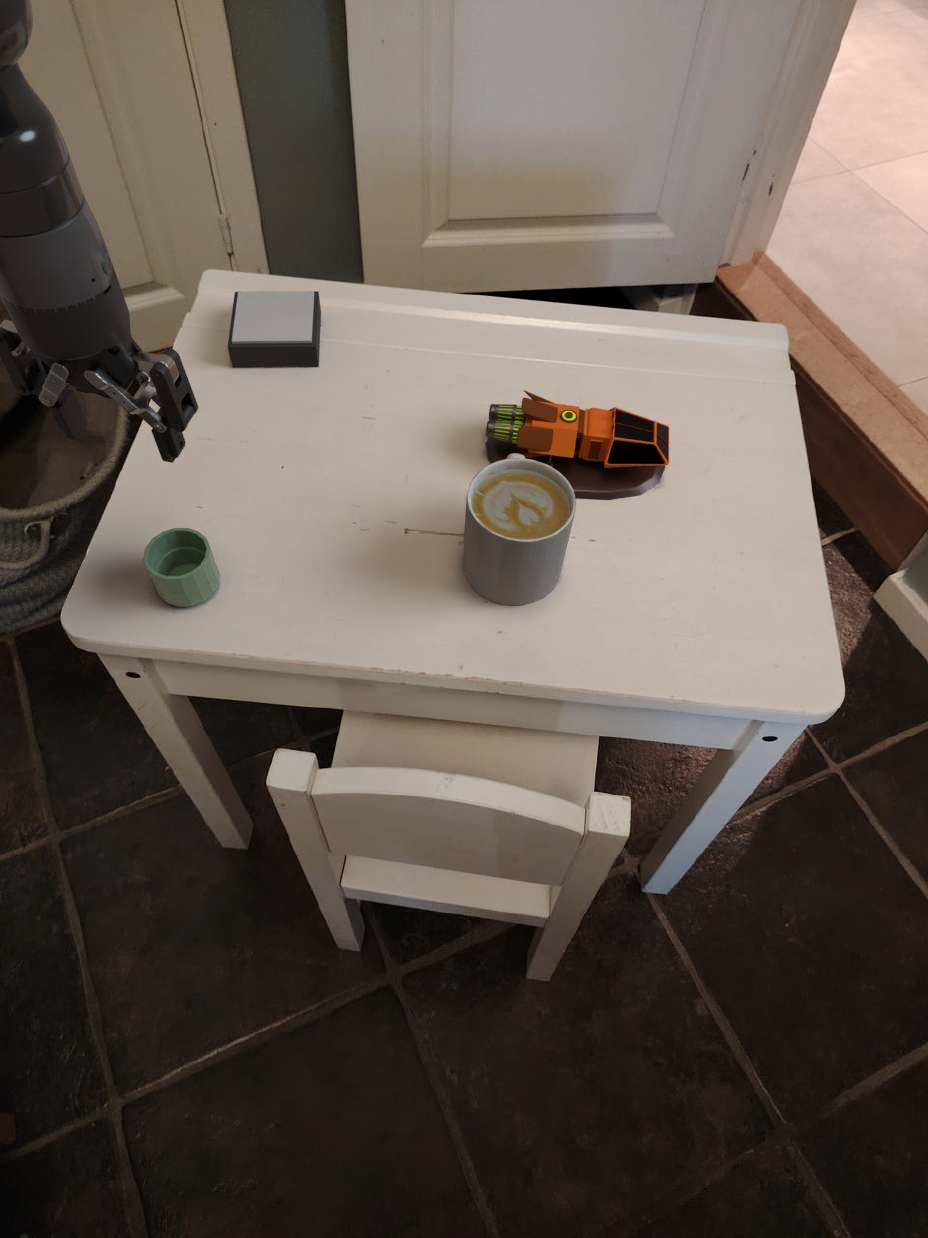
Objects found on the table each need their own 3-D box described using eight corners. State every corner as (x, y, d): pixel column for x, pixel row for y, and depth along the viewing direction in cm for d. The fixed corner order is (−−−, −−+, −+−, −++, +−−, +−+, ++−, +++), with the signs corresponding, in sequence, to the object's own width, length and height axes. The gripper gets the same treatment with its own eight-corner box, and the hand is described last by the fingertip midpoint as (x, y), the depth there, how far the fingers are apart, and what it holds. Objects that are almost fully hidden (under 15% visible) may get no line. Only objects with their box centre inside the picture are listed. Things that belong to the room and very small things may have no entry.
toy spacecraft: (665, 510, 88) (681, 467, 83) (478, 485, 89) (481, 441, 84) (665, 426, 95) (680, 382, 90) (491, 404, 96) (496, 359, 90)
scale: (232, 367, 97) (226, 343, 95) (239, 312, 103) (234, 288, 100) (318, 366, 98) (315, 343, 95) (321, 312, 103) (318, 288, 101)
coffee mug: (553, 614, 81) (569, 551, 72) (453, 595, 81) (456, 530, 73) (571, 510, 88) (587, 441, 79) (478, 493, 89) (484, 424, 80)
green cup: (154, 610, 79) (139, 579, 75) (162, 560, 82) (148, 528, 78) (217, 608, 79) (206, 578, 75) (223, 558, 83) (212, 526, 78)
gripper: (-77, 281, 54) (23, 457, 68) (124, 325, 53) (186, 495, 66) (-13, 218, 58) (70, 395, 72) (176, 257, 57) (224, 431, 70)
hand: (126, 443), depth 69 cm, fingers open, 8 cm apart
